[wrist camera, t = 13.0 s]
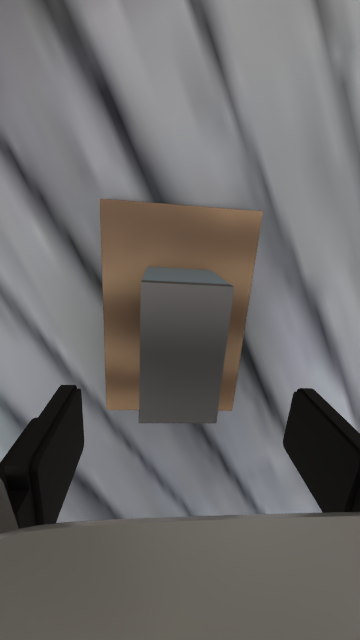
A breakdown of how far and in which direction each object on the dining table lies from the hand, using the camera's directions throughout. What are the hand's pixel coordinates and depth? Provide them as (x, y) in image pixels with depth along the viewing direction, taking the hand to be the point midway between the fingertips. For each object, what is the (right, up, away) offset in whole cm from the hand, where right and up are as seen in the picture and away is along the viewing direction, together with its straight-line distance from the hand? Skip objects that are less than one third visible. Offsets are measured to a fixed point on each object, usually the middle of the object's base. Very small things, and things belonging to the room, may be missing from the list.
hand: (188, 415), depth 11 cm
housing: (-1, +4, +10) cm, 11 cm away
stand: (-1, +5, +13) cm, 14 cm away
